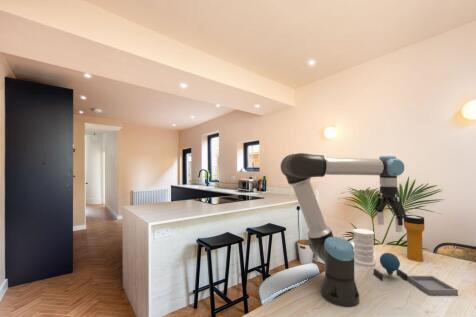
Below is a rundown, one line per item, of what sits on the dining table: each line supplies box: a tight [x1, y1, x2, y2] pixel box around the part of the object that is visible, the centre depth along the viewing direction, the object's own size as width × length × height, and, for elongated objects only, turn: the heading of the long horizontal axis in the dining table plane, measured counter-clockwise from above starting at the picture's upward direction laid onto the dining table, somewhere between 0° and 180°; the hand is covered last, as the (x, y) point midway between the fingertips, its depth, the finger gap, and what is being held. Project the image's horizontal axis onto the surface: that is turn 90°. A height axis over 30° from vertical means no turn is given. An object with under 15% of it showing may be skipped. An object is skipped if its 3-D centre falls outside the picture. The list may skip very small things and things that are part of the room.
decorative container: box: [352, 228, 376, 268], centre depth 131 cm, size 12×12×18 cm
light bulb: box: [379, 252, 401, 279], centre depth 113 cm, size 8×8×12 cm
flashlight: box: [403, 214, 425, 262], centre depth 136 cm, size 10×26×10 cm
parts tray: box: [407, 275, 459, 297], centre depth 103 cm, size 13×13×2 cm
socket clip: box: [373, 268, 408, 282], centre depth 113 cm, size 13×6×3 cm, turn 90°
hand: (389, 227), depth 114 cm, fingers open, 13 cm apart
